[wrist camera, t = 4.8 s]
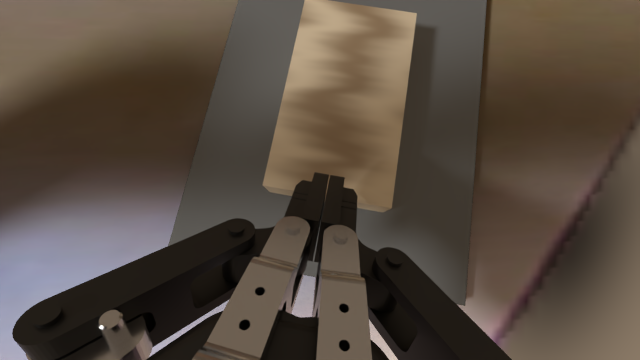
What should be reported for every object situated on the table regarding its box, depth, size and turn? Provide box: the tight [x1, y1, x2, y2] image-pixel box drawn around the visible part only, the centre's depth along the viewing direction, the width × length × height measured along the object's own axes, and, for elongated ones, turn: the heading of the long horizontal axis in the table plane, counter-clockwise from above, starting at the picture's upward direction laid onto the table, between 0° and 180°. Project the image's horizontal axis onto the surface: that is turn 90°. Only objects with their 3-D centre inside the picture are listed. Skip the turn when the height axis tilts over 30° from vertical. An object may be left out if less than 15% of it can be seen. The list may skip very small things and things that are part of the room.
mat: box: [168, 0, 487, 306], centre depth 22 cm, size 20×26×1 cm
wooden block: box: [263, 0, 417, 212], centre depth 20 cm, size 8×2×14 cm
